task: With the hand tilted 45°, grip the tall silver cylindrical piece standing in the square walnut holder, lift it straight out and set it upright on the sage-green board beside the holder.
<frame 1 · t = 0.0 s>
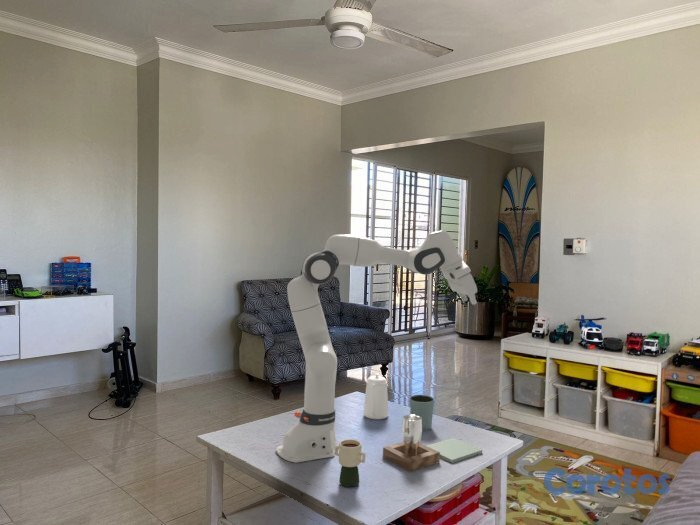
hand: (470, 302, 197), 54 cm above the table, tool tilted 30°, fingers open, 8 cm apart
walnut holder: (410, 459, 184), on the table
character mug: (349, 484, 165), on the table
silver cylindrical piece: (410, 460, 184), resting in walnut holder
green plant pot: (421, 427, 217), on the table
coffeepot: (375, 416, 229), on the table
sage board: (452, 451, 193), on the table
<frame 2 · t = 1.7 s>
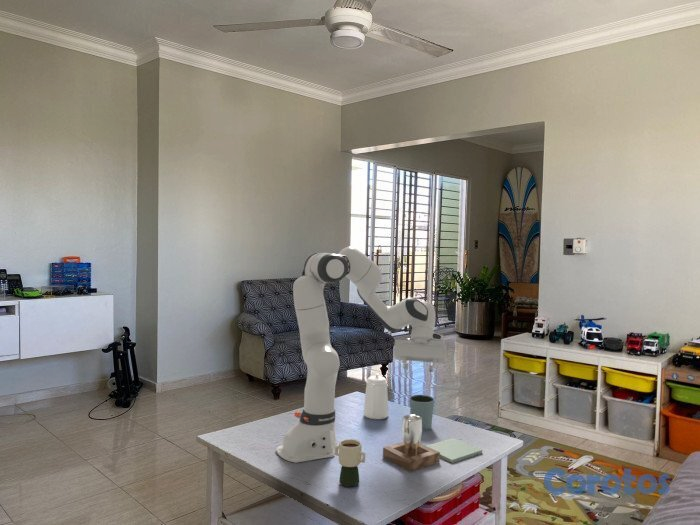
hand: (418, 370, 195), 29 cm above the table, tool tilted 45°, fingers open, 8 cm apart
nothing on the table moved.
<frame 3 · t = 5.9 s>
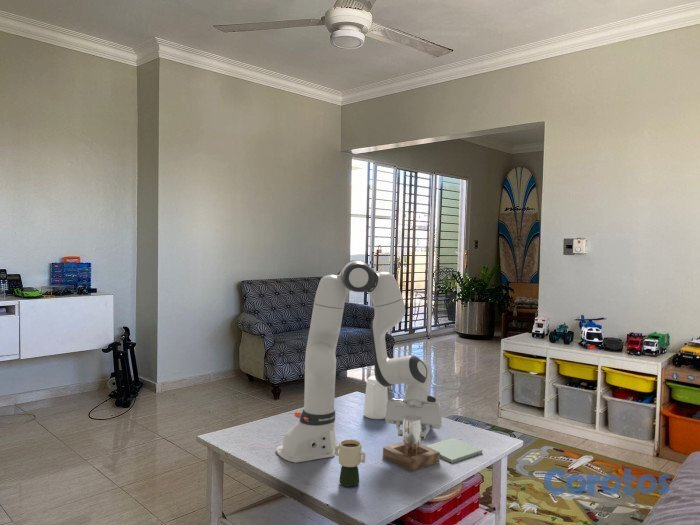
hand: (411, 436, 183), 8 cm above the table, tool tilted 45°, fingers closed on silver cylindrical piece, 7 cm apart
silver cylindrical piece: (410, 460, 184), resting in walnut holder, touching gripper
everything else where it was.
when the fingers open (11 cm above the table, at t = 12.7 s): silver cylindrical piece stays where it is, resting on sage board.
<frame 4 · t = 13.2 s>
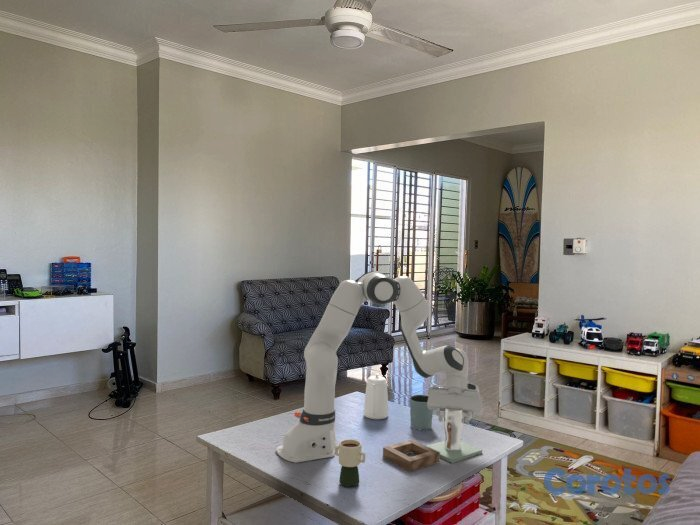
hand: (453, 422, 191), 11 cm above the table, tool tilted 45°, fingers open, 8 cm apart
silver cylindrical piece: (452, 448, 193), point 1 cm above the table, touching sage board
everything else where it was.
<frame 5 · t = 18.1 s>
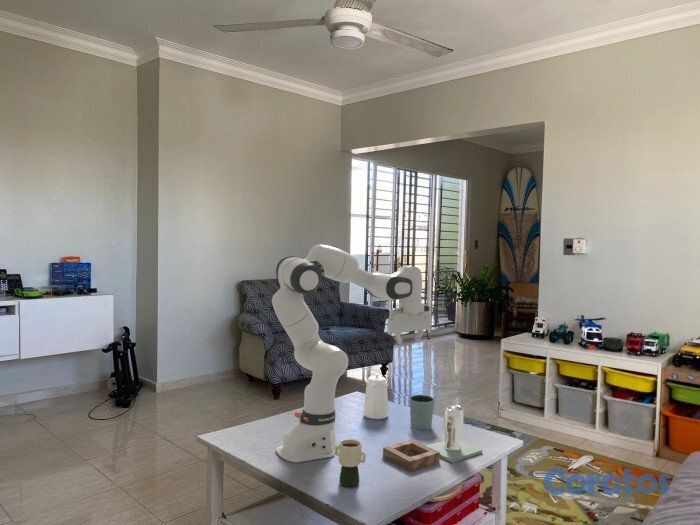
hand: (408, 342, 205), 37 cm above the table, tool pointing down, fingers open, 8 cm apart
nothing on the table moved.
at the end: silver cylindrical piece inside the target area on the sage board (0.1 cm from its centre), point 1.0 cm above the sage board's base; silver cylindrical piece tilted 0°; the gripper is holding nothing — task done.
